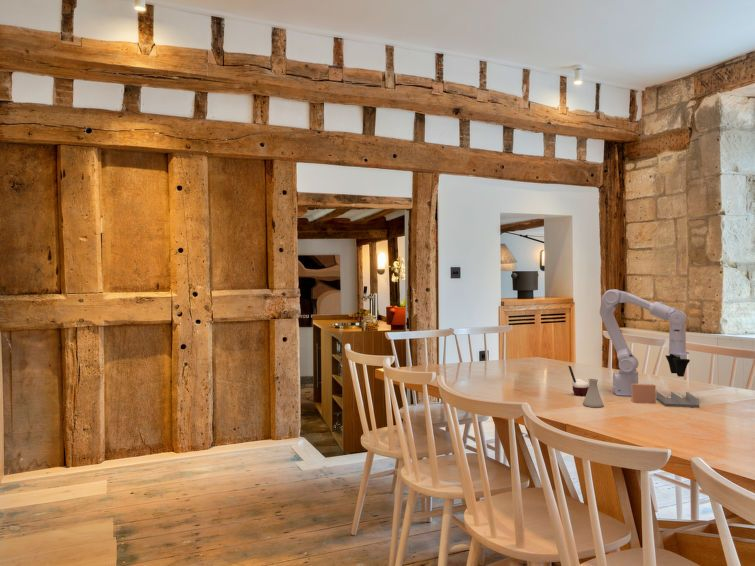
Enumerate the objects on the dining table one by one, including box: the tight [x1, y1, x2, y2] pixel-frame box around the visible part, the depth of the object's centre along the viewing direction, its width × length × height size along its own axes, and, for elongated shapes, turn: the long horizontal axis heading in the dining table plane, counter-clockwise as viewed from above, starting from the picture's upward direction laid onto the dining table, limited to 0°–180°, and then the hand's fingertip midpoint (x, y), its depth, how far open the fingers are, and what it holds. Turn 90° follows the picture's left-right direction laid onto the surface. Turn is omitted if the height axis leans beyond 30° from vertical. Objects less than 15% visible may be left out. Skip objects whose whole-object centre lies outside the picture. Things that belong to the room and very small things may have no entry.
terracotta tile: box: [630, 383, 657, 405], centre depth 215 cm, size 8×3×7 cm, turn 78°
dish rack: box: [656, 390, 700, 409], centre depth 212 cm, size 12×12×4 cm
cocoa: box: [568, 365, 589, 397], centre depth 229 cm, size 10×6×12 cm, turn 77°
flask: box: [582, 378, 605, 408], centre depth 209 cm, size 7×7×10 cm
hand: (677, 374), depth 220 cm, fingers open, 7 cm apart
